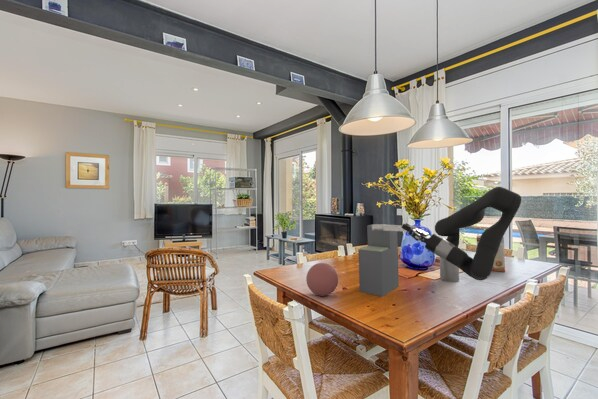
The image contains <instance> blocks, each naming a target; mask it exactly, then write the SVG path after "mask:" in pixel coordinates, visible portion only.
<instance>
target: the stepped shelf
mask: <svg viewBox="0 0 598 399" xmlns="http://www.w3.org/2000/svg"><path fill="white" fill-rule="evenodd" d="M376 224H377V223H374V224H368V225H366V230H367V231H366V232H367V234H366V235H367V245H365V246H362V247H360V248H359V249H358V250H357V251H358V279H359V280H358V282H359V285H358V286H359V292H360V293H363V292H364V294H368V295H373V296H377V297H382V298H383V297H385V296H386V295H388V294H389V293H391V292H393V291H394V290H395V289H396V288H398V287H399V286H400V282H399V279H400V277H399V244H398V243H399V242H398V241H399V240H398V231H373V230H372V225H376ZM381 224H382V225H390V223H388V224H385V223H381Z"/></svg>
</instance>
